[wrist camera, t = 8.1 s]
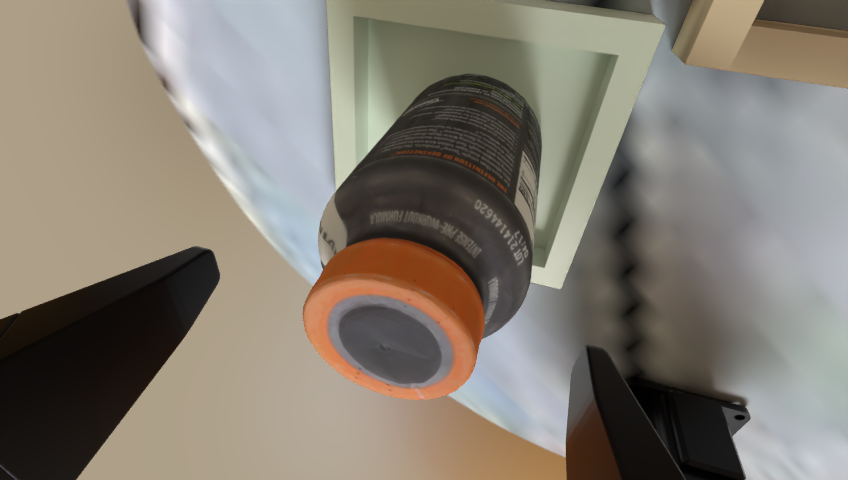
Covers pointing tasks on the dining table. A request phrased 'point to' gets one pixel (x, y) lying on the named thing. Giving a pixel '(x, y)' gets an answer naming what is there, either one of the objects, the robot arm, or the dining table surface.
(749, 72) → the socket collar
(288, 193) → the dining table surface
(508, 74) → the tray
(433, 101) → the pill bottle
